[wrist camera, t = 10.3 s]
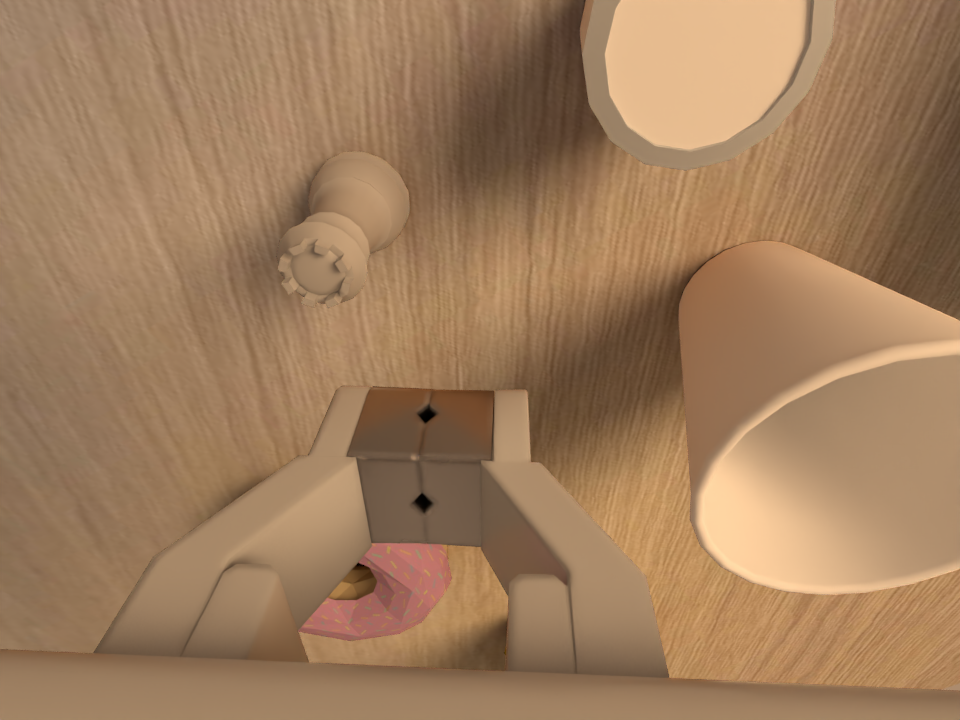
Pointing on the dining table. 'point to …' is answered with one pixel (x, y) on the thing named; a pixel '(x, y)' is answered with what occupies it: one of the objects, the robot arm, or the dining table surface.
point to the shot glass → (699, 72)
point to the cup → (819, 424)
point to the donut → (384, 592)
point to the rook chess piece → (343, 228)
